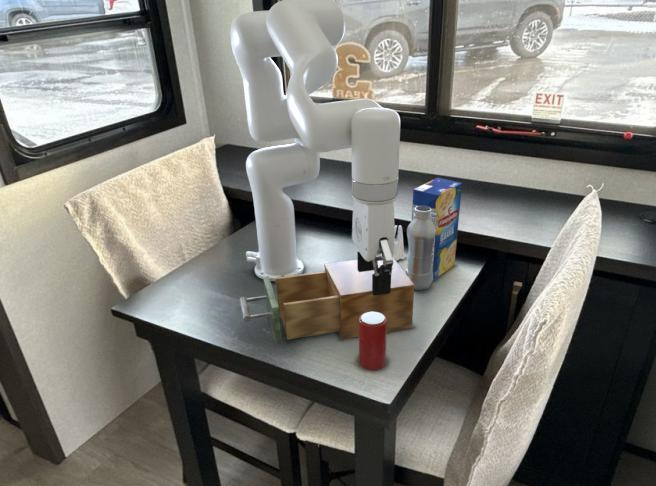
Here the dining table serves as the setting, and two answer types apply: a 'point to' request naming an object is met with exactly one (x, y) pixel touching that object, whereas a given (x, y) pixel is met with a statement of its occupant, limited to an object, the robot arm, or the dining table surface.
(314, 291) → the drawer
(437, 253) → the blue tall box
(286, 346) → the dining table surface
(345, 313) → the cabinet
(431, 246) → the silver bottle
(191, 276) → the dining table surface
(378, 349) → the can
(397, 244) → the shaker set
